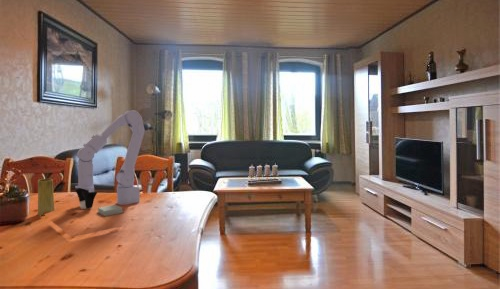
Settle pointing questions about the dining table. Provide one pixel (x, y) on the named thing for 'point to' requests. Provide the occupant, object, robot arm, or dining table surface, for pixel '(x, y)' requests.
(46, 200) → the vase
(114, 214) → the tower base
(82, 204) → the white rounded dome
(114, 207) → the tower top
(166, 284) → the dining table surface
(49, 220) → the dining table surface
